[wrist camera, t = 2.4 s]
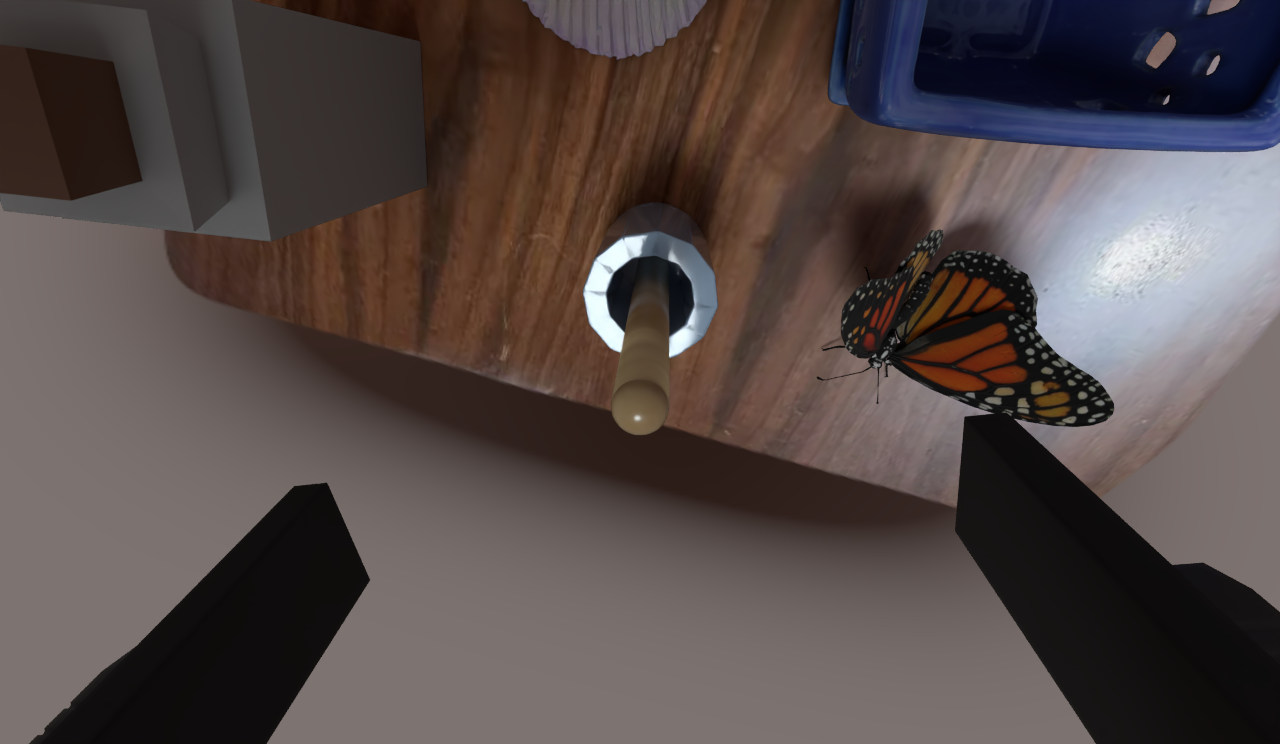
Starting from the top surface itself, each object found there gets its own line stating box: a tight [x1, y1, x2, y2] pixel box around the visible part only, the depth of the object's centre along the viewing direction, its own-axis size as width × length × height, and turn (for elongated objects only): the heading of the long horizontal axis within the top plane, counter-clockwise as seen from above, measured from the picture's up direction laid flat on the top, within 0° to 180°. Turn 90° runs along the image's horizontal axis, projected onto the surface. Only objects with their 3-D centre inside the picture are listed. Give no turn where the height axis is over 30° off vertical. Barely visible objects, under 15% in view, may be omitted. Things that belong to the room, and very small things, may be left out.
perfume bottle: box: [0, 0, 427, 241], centre depth 22 cm, size 7×7×18 cm
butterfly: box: [817, 230, 1114, 427], centre depth 28 cm, size 12×10×10 cm
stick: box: [611, 256, 669, 435], centre depth 23 cm, size 2×2×18 cm
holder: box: [583, 202, 718, 358], centre depth 29 cm, size 6×6×8 cm
